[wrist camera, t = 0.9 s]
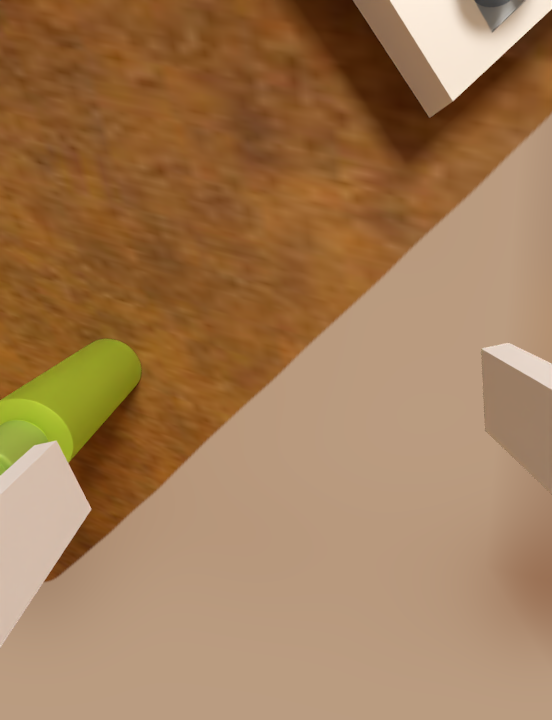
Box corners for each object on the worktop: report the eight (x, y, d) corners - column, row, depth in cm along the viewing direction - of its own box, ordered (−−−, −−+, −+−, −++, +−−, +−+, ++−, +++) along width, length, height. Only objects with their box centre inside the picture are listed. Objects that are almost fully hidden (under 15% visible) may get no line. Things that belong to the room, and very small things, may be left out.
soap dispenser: (141, 406, 37) (6, 587, 19) (74, 380, 36) (-140, 544, 17) (159, 357, 36) (31, 502, 17) (90, 328, 34) (-130, 449, 16)
